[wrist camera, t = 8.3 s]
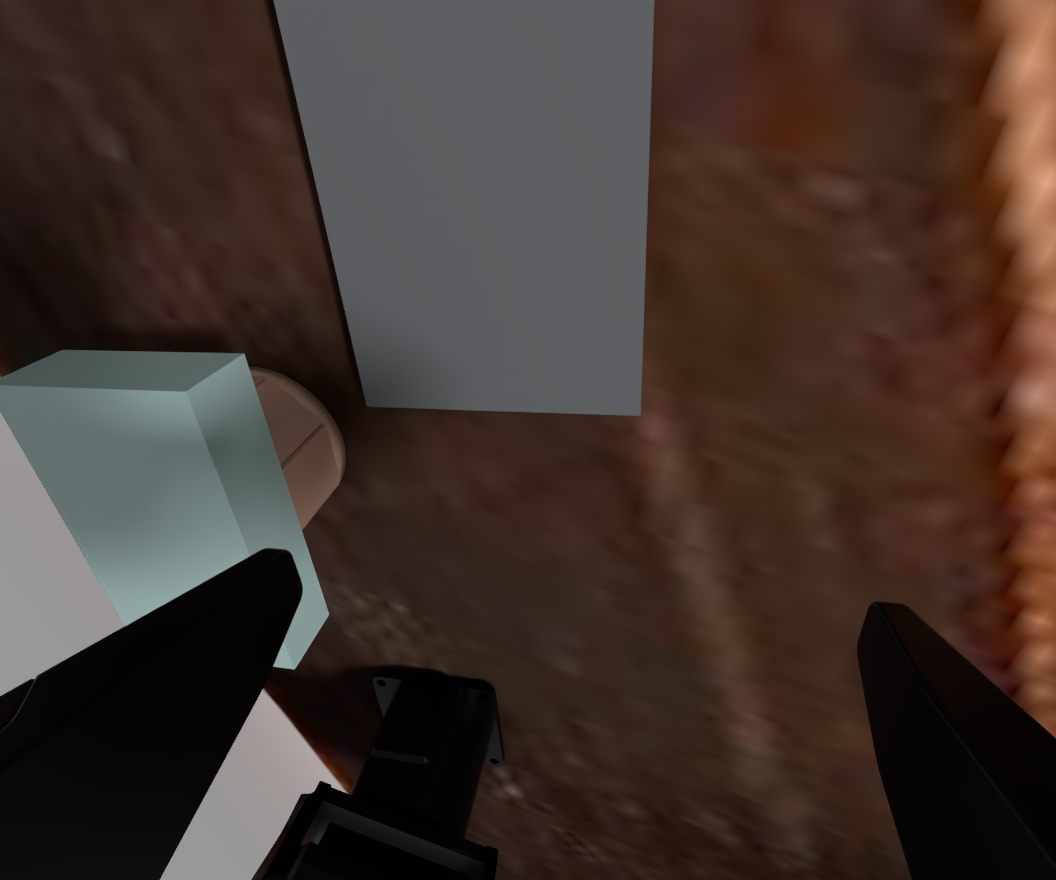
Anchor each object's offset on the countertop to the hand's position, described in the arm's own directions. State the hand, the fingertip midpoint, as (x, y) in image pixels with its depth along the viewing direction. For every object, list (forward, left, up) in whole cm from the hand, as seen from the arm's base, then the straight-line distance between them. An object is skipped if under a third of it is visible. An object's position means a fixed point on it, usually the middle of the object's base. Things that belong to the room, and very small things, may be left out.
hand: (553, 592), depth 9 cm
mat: (+4, +4, -12) cm, 13 cm away
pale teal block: (-5, +14, -8) cm, 17 cm away
